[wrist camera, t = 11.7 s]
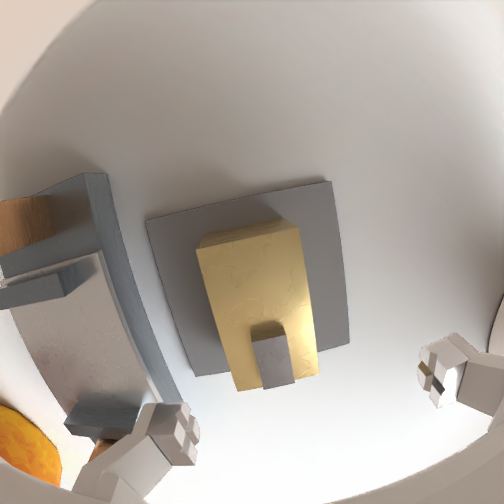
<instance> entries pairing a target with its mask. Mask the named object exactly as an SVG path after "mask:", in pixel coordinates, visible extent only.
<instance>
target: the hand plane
mask: <svg viewBox="0 0 504 504" xmlns="http://www.w3.org/2000/svg"><path fill="white" fill-rule="evenodd" d="M0 265H1V268H2V271H3V274H4V278H5V279H3V280H1V281H0V284H1V287H0V310H4V309H10V311H11V314H12V316H13V319H14V321H15V323H16V326H17V328H18V330H19V332H20V334H21V337H22V339H23V341H24V343H25V345H26V347H27V349H28V351H29V353H30V355H31V357H32V359H33V361H34V363H35V364H36V366H37V368H38V370H39V372H40V373H41V375H42V377H43V379H44V380H45V382H46V384H47V385H48V387H49V389H50V390H51V392H52V393H53V395H54V397H55V398H56V400H57V401H58V403H59V404H60V406H61V407H62V409H63V410H64V412H65V413H66V414H67V416H68V417H67V418H66V420H65V422H64V425H65V426H66V428H67V429H68V430H69V431H70V433H71V434H72V435H77V436H85V437H90V438H91V440H92V441H93V442H94V443H95V447H94V450H93V452H92V454H91V457H90V459H89V461H88V462H90V461H91V460H93V459H94V458H96V457H97V456H98V455H100V454H101V453H103V452H104V451H105V450H107V449H108V448H110V447H111V446H112V445H114V444H115V443H116V442H118V441H119V440H121V439H122V438H123V437H125V436H126V435H127V434H132V431H133V429H134V426H135V424H136V422H137V419H138V417H139V414H140V412H141V410H142V407H143V405H144V404H146V403H159V402H183V400H182V398H181V396H180V394H179V391H178V389H177V387H176V385H175V383H174V381H173V379H172V376H171V374H170V372H169V370H168V367H167V365H166V363H165V360H164V358H163V356H162V353H161V351H160V349H159V346H158V344H157V341H156V339H155V336H154V334H153V331H152V328H151V326H150V323H149V321H148V318H147V315H146V312H145V310H144V307H143V304H142V301H141V298H140V295H139V292H138V289H137V286H136V283H135V280H134V277H133V274H132V271H131V267H130V264H129V261H128V257H127V254H126V251H125V247H124V243H123V240H122V236H121V232H120V228H119V224H118V220H117V216H116V212H115V208H114V204H113V199H112V195H111V190H110V185H109V180H108V175H107V174H100V173H82V174H80V175H77V176H75V177H73V178H70V179H68V180H66V181H63V182H61V183H59V184H57V185H54V186H52V187H50V188H48V189H46V190H44V191H41V192H39V193H37V194H35V195H33V196H31V197H26V198H19V199H12V200H5V201H0Z"/></svg>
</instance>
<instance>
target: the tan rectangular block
mask: <svg viewBox="0 0 504 504" xmlns="http://www.w3.org/2000/svg"><path fill="white" fill-rule="evenodd" d="M196 253H197V257H198V261H199V265H200V268H201V272H202V276H203V279H204V283H205V287H206V290H207V294H208V298H209V301H210V305H211V308H212V312H213V315H214V318H215V322H216V325H217V329H218V332H219V335H220V338H221V342H222V345H223V348H224V351H225V355H226V358H227V361H228V364H229V367H230V370H231V373H232V376H233V379H234V382H235V385H236V388H237V391H238V392H239V391H245V390H250V389H256V388H261V387H263V389H264V390H265V389H270V388H274V387H279V386H284V385H288V384H292V383H295V381H294V380H297V379H301V378H305V377H309V376H313V375H316V374H319V366H318V357H317V349H316V340H315V332H314V325H313V317H312V310H311V302H310V295H309V289H308V282H307V275H306V269H305V263H304V256H303V250H302V244H301V239H300V233H299V228H298V227H297V226H295V225H294V224H292V223H291V222H289V221H288V220H286V219H285V218H283V217H282V218H277V219H272V220H268V221H263V222H258V223H253V224H249V225H244V226H240V227H235V228H230V229H226V230H221V231H217V232H212V233H208V234H205V235H204V237H203V238H202V240H201V242H200V244H199V245H198V247H197V249H196Z"/></svg>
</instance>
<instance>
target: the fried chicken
mask: <svg viewBox="0 0 504 504" xmlns="http://www.w3.org/2000/svg"><path fill="white" fill-rule="evenodd" d="M1 463H6V464H9V465H11V466H13V467H15V468H17V469H19V470H21V471H23V472H25V473H27V474H29V475H31V476H34V477H36V478H38V479H40V480H43V481H45V482H48V483H50V484H53V485H55V486H58V487H60V480H61V473H62V466H61V462H60V457H59V454H58V451H57V448H56V447H55V446H54V445H53V444H52V443H51V442H50V440H49V439H48V438H47V437H46V436H45V435H44V434H43V433H42V431H41V430H40V429H39V428H38V427H36V426H35V425H34V424H32V423H31V422H30V421H28V420H27V419H26V418H25V417H23V416H22V415H21V414H20V413H19V412H17V411H15V410H12V409H10V408H8V407H5V406H3V405H0V464H1Z"/></svg>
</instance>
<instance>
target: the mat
mask: <svg viewBox="0 0 504 504" xmlns="http://www.w3.org/2000/svg"><path fill="white" fill-rule="evenodd" d="M282 217H283V218H285V219H286V220H288V221H289V222H291V223H292V224H294V225H295V226H297V227H298V228H299V233H300V239H301V244H302V250H303V256H304V263H305V269H306V275H307V282H308V289H309V295H310V302H311V310H312V317H313V325H314V332H315V340H316V349H317V352H320V351H324V350H328V349H331V348H335V347H338V346H342V345H345V344H348V343H350V340H349V322H348V308H347V295H346V285H345V275H344V265H343V257H342V248H341V241H340V233H339V226H338V219H337V213H336V207H335V200H334V194H333V189H332V183H331V181H327V182H321V183H315V184H309V185H304V186H298V187H293V188H288V189H282V190H277V191H272V192H267V193H262V194H257V195H252V196H248V197H243V198H238V199H234V200H229V201H225V202H220V203H216V204H212V205H207V206H203V207H199V208H195V209H190V210H186V211H182V212H178V213H174V214H170V215H166V216H162V217H159V218H155V219H151V220H148V221H145V224H146V228H147V231H148V235H149V239H150V243H151V247H152V250H153V254H154V257H155V261H156V264H157V268H158V271H159V274H160V278H161V281H162V284H163V287H164V291H165V294H166V297H167V300H168V303H169V306H170V309H171V312H172V315H173V318H174V321H175V324H176V327H177V329H178V332H179V335H180V338H181V340H182V343H183V346H184V348H185V351H186V354H187V356H188V359H189V362H190V364H191V367H192V369H193V372H194V374H195V377H198V376H205V375H211V374H218V373H224V372H230V371H231V370H230V367H229V364H228V361H227V358H226V355H225V351H224V348H223V345H222V342H221V338H220V335H219V332H218V329H217V325H216V322H215V318H214V315H213V312H212V308H211V305H210V301H209V298H208V294H207V290H206V287H205V283H204V279H203V276H202V272H201V268H200V265H199V261H198V257H197V253H196V249H197V247H198V245H199V244H200V242H201V240H202V238H203V237H204V235H205V234H208V233H212V232H217V231H221V230H226V229H230V228H235V227H240V226H244V225H249V224H253V223H258V222H263V221H268V220H272V219H277V218H282Z"/></svg>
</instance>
